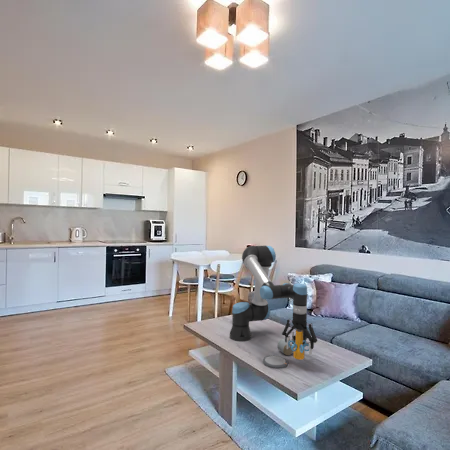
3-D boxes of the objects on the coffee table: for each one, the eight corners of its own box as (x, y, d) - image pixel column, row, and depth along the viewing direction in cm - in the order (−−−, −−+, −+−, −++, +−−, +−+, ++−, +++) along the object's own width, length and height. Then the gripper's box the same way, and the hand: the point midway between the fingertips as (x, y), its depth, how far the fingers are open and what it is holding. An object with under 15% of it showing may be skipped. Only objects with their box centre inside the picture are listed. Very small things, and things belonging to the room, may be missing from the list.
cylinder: (286, 352, 174) (286, 326, 174) (304, 352, 175) (304, 326, 175) (292, 362, 162) (293, 334, 162) (311, 362, 163) (312, 334, 163)
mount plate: (258, 363, 172) (258, 361, 172) (269, 355, 183) (269, 353, 183) (281, 370, 164) (281, 368, 164) (291, 361, 175) (291, 359, 175)
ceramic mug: (283, 356, 182) (283, 343, 182) (277, 351, 189) (277, 338, 189) (299, 354, 185) (299, 342, 185) (292, 349, 193) (292, 337, 193)
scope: (291, 322, 202) (303, 320, 207) (291, 343, 202) (303, 341, 207) (299, 326, 195) (311, 324, 199) (299, 347, 195) (311, 345, 199)
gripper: (276, 310, 172) (275, 347, 172) (319, 318, 158) (318, 359, 159) (282, 307, 178) (281, 343, 179) (323, 314, 165) (323, 354, 165)
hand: (298, 351), depth 169 cm, fingers closed on cylinder, 12 cm apart
